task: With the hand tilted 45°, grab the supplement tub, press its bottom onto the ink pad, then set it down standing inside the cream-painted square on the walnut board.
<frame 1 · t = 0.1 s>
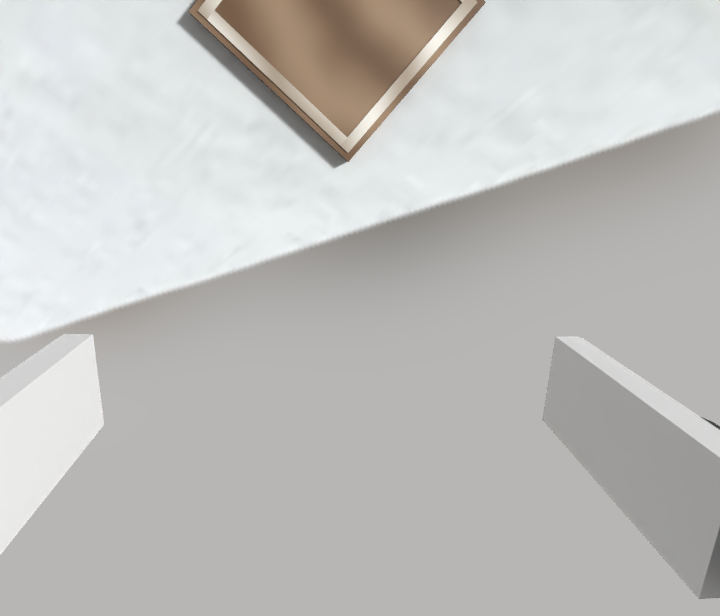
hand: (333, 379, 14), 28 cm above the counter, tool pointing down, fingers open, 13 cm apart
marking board: (339, 10, 36), on the counter
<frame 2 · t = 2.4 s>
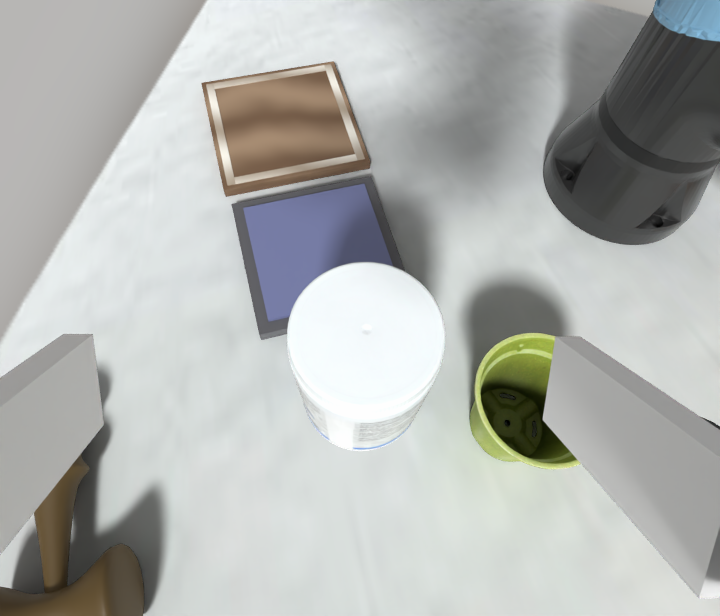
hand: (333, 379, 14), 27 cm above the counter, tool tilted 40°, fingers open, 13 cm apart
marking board: (283, 128, 54), on the counter
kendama: (76, 551, 37), on the counter
supplement tub: (359, 395, 42), on the counter
ink pad: (320, 255, 47), on the counter
plant pot: (504, 423, 42), on the counter
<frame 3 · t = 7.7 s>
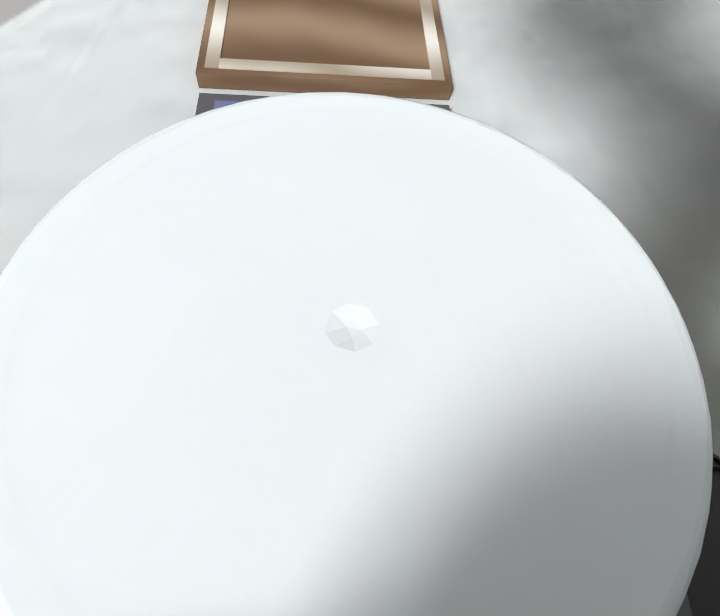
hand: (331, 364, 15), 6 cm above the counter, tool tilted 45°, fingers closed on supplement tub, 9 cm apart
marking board: (326, 18, 34), on the counter
supplement tub: (327, 499, 19), on the counter, touching gripper
ink pad: (326, 210, 26), on the counter
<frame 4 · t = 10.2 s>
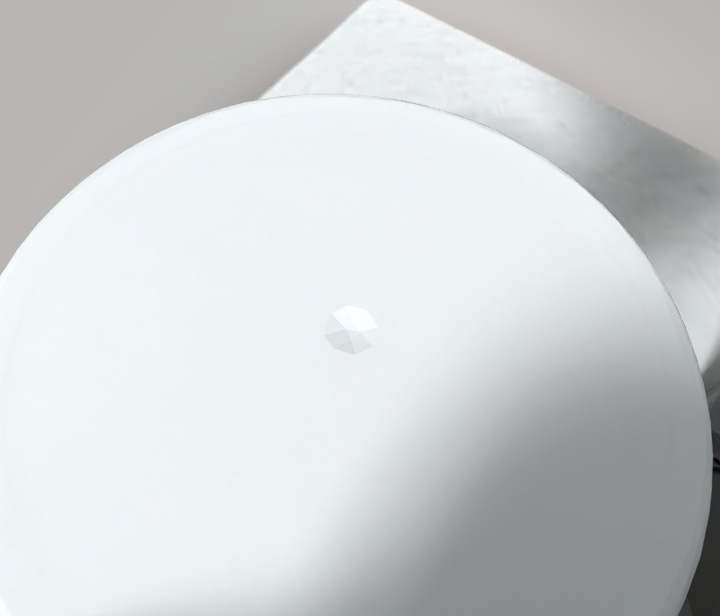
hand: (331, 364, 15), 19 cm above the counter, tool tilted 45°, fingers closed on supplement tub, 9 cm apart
supplement tub: (327, 500, 19), point 12 cm above the counter, touching gripper
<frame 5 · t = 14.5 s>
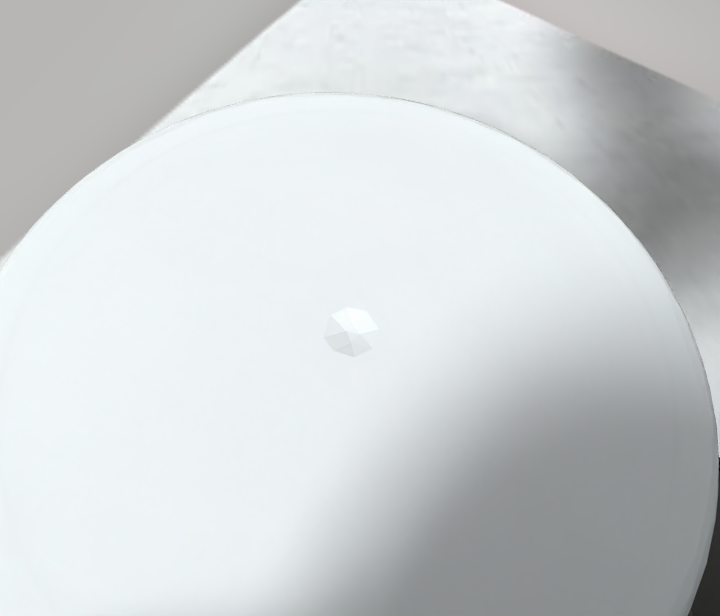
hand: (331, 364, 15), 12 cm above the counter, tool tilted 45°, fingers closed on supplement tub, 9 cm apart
supplement tub: (328, 500, 19), point 6 cm above the counter, touching gripper
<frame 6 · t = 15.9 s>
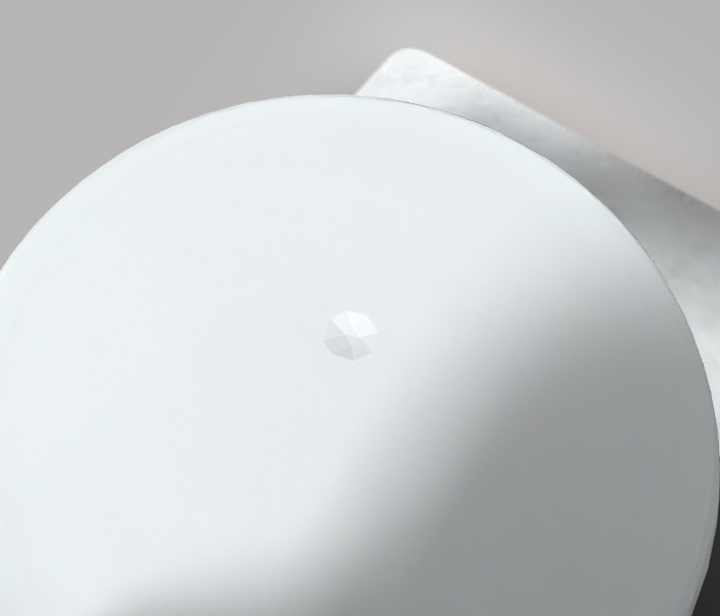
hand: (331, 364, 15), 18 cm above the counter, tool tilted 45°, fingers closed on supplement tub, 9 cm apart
supplement tub: (328, 502, 19), point 12 cm above the counter, touching gripper
when the fingers open (8 cm above the counter, at t = 19.5 s): supplement tub stays where it is, resting on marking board.
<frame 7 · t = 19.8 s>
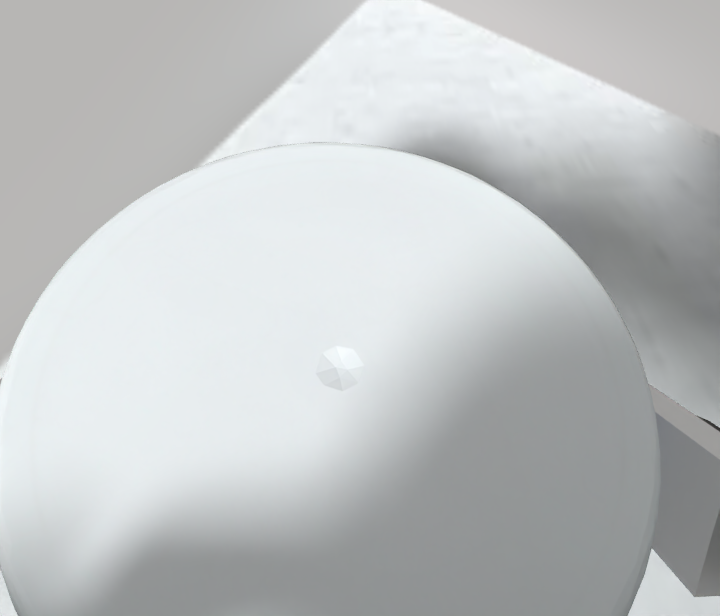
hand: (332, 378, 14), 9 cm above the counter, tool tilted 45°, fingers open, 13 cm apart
supplement tub: (324, 507, 20), point 1 cm above the counter, touching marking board
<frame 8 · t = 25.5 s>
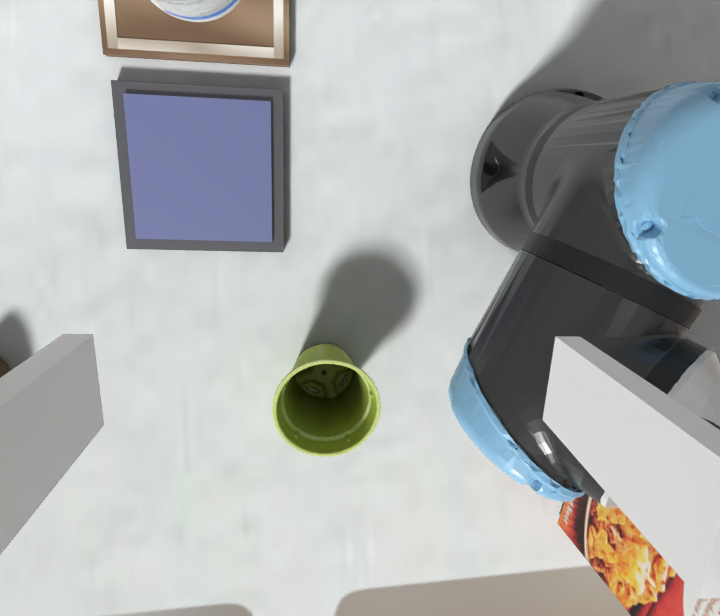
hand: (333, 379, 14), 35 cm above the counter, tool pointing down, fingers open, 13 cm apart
ink pad: (205, 171, 45), on the counter
plant pot: (324, 368, 52), on the counter
orange cereal box: (615, 440, 57), on the counter, touching arm
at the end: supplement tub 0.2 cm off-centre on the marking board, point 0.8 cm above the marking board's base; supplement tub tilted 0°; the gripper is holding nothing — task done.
